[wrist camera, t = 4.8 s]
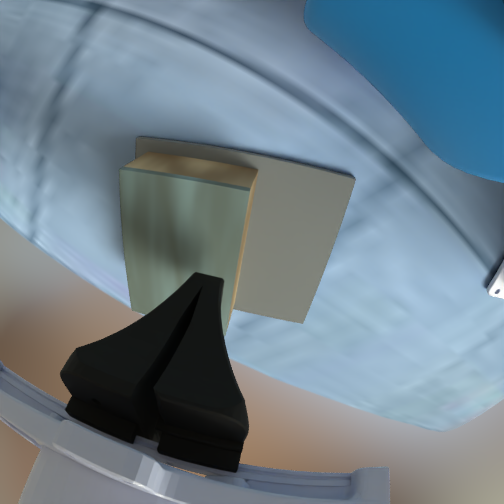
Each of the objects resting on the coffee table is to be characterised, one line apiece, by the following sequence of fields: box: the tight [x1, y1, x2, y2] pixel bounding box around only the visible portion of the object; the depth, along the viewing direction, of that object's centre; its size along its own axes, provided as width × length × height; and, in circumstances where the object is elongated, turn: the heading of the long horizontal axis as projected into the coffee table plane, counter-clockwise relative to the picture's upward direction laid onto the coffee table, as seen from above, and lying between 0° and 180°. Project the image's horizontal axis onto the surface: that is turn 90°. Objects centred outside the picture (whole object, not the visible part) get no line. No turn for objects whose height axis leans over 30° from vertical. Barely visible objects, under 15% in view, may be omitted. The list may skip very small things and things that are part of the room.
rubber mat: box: [135, 137, 356, 324], centre depth 17 cm, size 12×10×1 cm
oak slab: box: [119, 152, 258, 336], centre depth 16 cm, size 3×9×6 cm
